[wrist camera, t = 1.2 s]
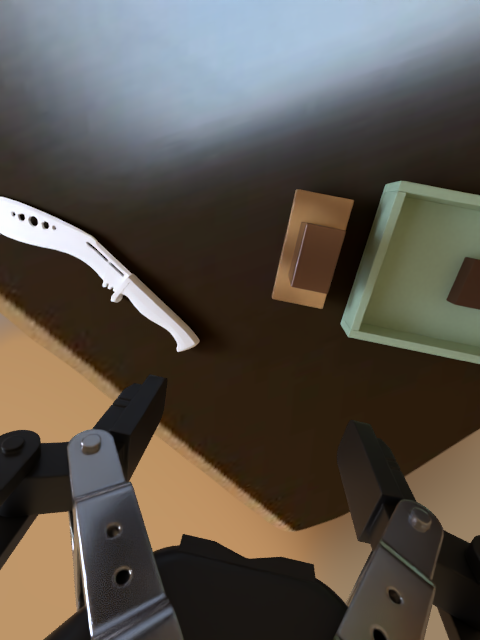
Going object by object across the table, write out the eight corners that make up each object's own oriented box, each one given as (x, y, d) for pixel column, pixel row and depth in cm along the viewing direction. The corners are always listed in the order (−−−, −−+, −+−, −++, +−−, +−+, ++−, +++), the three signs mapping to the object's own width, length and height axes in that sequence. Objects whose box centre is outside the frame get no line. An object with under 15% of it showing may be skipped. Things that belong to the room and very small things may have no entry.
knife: (-61, 190, 31) (-30, 126, 29) (-45, 191, 33) (-14, 130, 30) (156, 383, 35) (200, 342, 33) (162, 376, 37) (204, 336, 34)
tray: (385, 184, 28) (401, 180, 25) (600, 225, 27) (646, 227, 24) (340, 324, 33) (348, 337, 29) (521, 361, 32) (551, 378, 29)
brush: (294, 191, 29) (302, 184, 22) (346, 201, 29) (371, 197, 22) (271, 291, 32) (272, 313, 25) (317, 300, 32) (331, 325, 25)
